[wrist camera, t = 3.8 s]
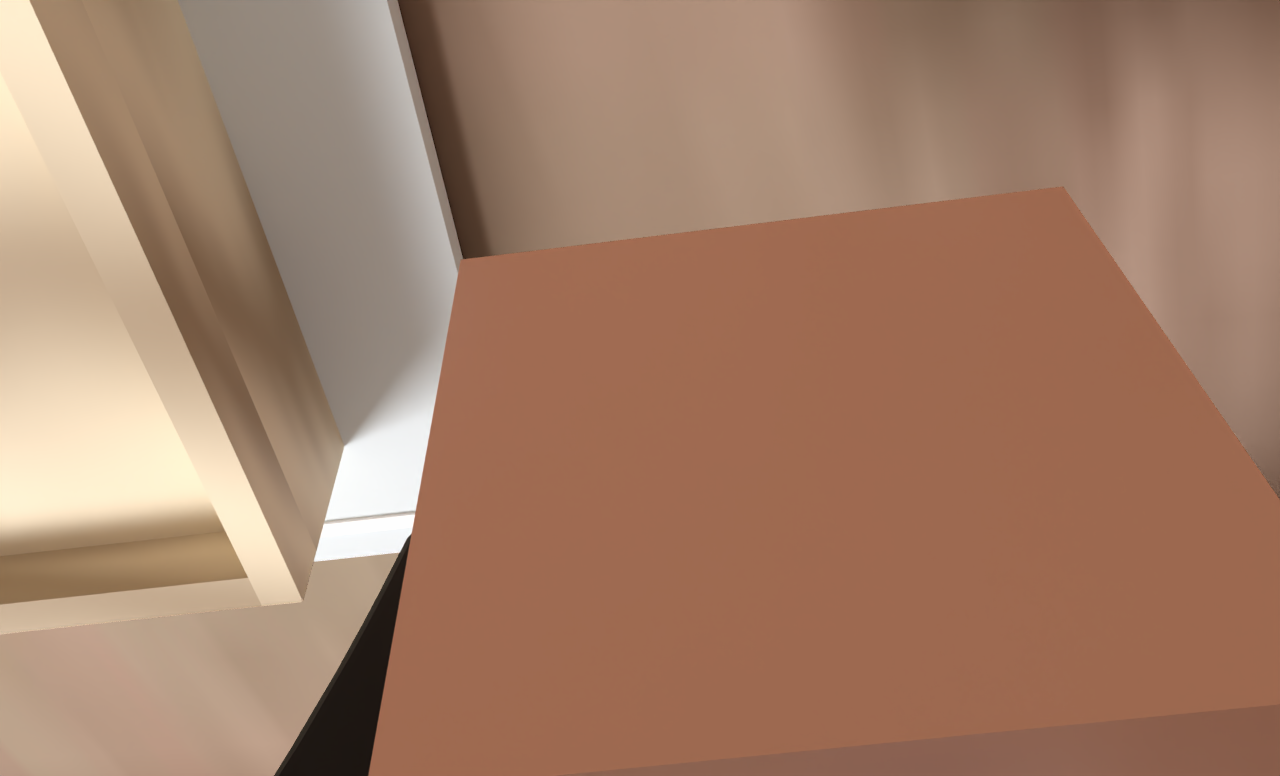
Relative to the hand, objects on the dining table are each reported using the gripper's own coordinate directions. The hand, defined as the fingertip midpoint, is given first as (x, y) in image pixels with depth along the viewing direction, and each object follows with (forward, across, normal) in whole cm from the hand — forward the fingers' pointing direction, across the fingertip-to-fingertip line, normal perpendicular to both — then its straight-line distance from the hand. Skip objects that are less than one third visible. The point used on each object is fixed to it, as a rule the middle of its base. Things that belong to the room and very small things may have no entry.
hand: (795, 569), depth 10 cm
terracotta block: (+2, 0, 0) cm, 2 cm away
